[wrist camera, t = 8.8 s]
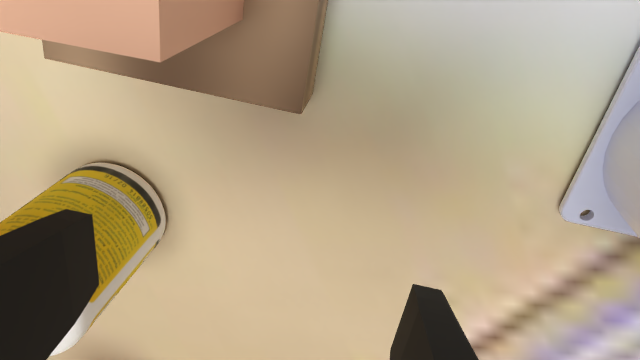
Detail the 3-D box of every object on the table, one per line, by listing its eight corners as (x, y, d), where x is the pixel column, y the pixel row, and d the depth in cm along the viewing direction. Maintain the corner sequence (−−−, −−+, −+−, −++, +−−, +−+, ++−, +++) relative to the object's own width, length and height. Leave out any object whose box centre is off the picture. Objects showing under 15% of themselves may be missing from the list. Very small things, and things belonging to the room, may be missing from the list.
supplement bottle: (68, 143, 22) (-146, 276, 13) (175, 180, 22) (29, 335, 13) (67, 230, 25) (-111, 387, 16) (162, 262, 25) (34, 436, 16)
